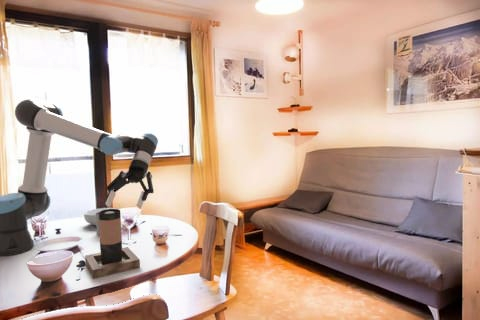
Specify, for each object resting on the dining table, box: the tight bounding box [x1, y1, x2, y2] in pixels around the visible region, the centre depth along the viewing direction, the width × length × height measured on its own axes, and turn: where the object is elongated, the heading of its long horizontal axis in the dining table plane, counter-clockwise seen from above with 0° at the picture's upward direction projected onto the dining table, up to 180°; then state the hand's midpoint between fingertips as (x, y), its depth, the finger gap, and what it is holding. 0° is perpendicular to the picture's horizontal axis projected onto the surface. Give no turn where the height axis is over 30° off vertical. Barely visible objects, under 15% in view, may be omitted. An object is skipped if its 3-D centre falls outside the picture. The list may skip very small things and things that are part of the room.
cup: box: [95, 212, 100, 236], centre depth 169 cm, size 8×8×10 cm
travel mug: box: [99, 208, 123, 265], centre depth 128 cm, size 8×8×20 cm
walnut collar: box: [84, 246, 141, 279], centre depth 129 cm, size 16×16×3 cm
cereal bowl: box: [83, 207, 117, 227], centre depth 184 cm, size 17×17×7 cm
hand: (122, 206), depth 135 cm, fingers open, 13 cm apart
